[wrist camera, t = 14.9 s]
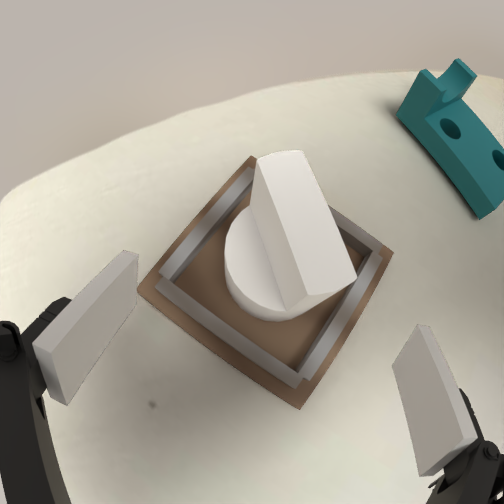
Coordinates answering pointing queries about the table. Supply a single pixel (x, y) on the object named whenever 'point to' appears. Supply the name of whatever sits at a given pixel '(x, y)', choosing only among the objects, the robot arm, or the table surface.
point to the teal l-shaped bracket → (456, 135)
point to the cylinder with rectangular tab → (285, 243)
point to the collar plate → (243, 324)
